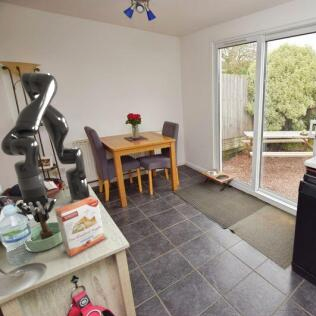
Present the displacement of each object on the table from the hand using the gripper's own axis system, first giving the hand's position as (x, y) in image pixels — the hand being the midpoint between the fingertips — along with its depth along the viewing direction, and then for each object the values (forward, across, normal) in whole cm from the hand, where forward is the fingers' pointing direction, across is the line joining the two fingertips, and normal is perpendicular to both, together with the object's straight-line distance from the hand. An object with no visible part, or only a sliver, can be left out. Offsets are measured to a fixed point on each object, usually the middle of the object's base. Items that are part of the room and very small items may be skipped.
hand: (42, 220), depth 96 cm
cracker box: (+12, -16, +6) cm, 21 cm away
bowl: (+11, +1, -1) cm, 11 cm away
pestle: (+9, 0, 0) cm, 9 cm away
